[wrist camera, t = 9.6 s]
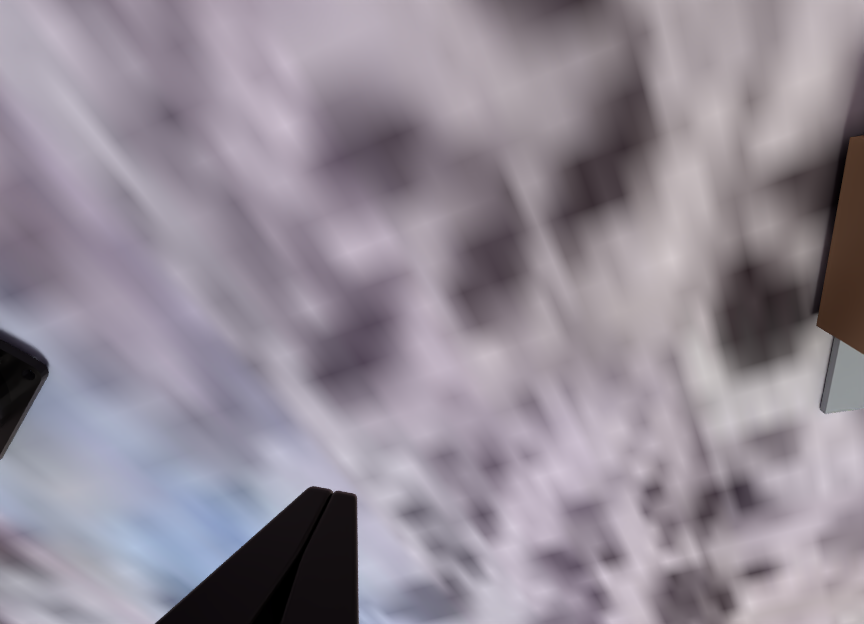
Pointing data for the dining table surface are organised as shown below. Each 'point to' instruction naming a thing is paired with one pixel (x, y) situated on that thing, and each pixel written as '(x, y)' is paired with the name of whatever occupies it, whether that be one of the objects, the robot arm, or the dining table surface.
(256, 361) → the dining table surface
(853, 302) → the walnut block
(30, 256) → the dining table surface
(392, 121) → the dining table surface
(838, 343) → the mat
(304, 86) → the dining table surface
